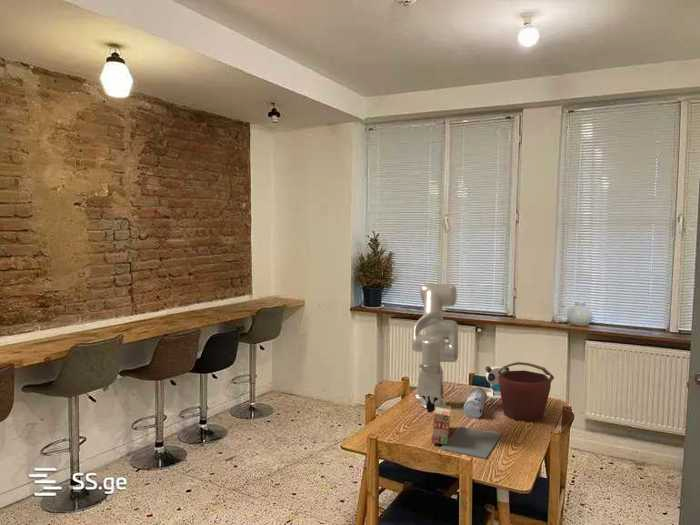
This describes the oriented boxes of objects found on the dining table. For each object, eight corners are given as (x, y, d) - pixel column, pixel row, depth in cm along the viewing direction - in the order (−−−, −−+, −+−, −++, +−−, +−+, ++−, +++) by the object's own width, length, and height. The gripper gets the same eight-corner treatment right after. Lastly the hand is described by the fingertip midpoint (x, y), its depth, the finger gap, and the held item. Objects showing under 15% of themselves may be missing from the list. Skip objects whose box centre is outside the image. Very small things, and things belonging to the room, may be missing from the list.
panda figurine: (488, 398, 268) (489, 369, 267) (482, 391, 279) (483, 364, 278) (511, 398, 268) (512, 369, 267) (505, 391, 279) (505, 364, 278)
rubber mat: (440, 449, 205) (440, 448, 205) (459, 427, 228) (459, 426, 228) (485, 459, 196) (485, 457, 196) (501, 435, 219) (501, 434, 219)
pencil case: (482, 420, 237) (482, 399, 236) (463, 417, 240) (463, 397, 240) (487, 405, 257) (487, 386, 256) (469, 403, 260) (469, 385, 259)
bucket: (559, 417, 241) (561, 363, 240) (538, 430, 225) (539, 373, 224) (510, 404, 258) (511, 354, 257) (487, 415, 243) (488, 362, 241)
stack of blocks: (434, 425, 229) (437, 397, 229) (448, 427, 228) (451, 399, 228) (431, 442, 209) (434, 412, 208) (447, 445, 207) (450, 415, 207)
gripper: (410, 368, 219) (410, 411, 220) (445, 373, 212) (444, 417, 213) (417, 364, 226) (417, 406, 227) (450, 368, 218) (450, 411, 219)
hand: (430, 411), depth 220 cm, fingers closed
